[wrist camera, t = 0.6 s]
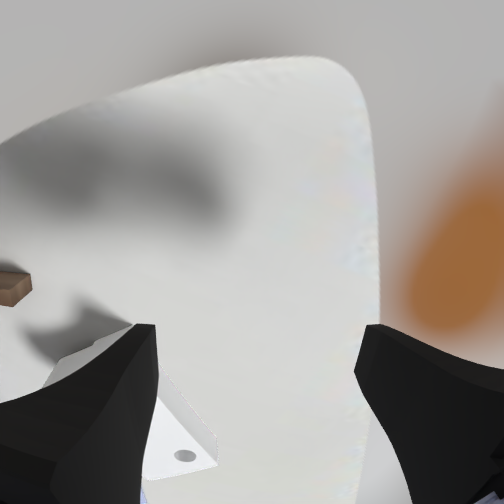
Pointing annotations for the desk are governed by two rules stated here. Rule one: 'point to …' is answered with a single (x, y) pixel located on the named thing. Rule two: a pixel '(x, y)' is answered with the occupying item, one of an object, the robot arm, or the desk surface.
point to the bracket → (159, 421)
